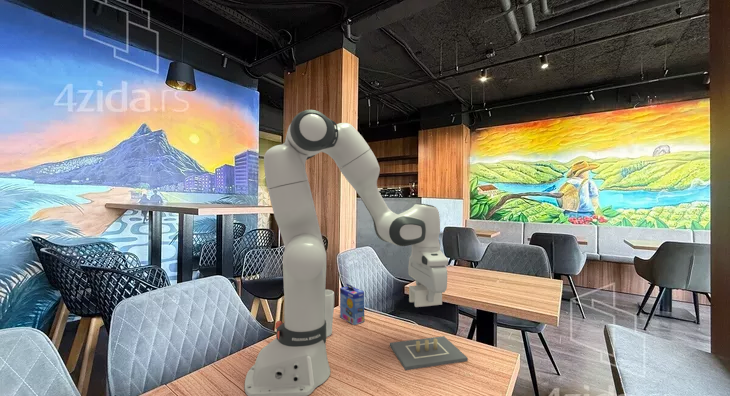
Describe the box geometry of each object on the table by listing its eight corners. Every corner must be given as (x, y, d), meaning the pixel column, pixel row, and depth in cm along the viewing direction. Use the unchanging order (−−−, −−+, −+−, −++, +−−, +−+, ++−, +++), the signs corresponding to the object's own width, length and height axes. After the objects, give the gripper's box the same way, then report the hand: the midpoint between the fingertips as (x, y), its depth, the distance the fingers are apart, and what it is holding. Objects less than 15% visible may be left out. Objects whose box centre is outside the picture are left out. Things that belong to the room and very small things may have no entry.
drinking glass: (330, 339, 101) (330, 296, 101) (312, 337, 102) (312, 294, 102) (336, 331, 107) (336, 290, 107) (318, 329, 109) (319, 288, 109)
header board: (405, 370, 84) (405, 356, 84) (389, 345, 97) (389, 333, 97) (467, 361, 88) (467, 347, 88) (444, 339, 102) (444, 327, 102)
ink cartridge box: (339, 317, 119) (339, 281, 119) (349, 314, 123) (350, 279, 123) (353, 325, 112) (354, 288, 112) (364, 321, 115) (365, 285, 115)
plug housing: (415, 307, 90) (415, 290, 90) (409, 301, 95) (409, 285, 95) (442, 304, 92) (442, 288, 92) (434, 299, 97) (434, 284, 97)
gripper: (403, 249, 103) (403, 288, 103) (431, 262, 83) (431, 310, 83) (420, 248, 104) (420, 287, 104) (451, 261, 84) (451, 308, 85)
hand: (425, 297), depth 94 cm, fingers closed on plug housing, 5 cm apart
